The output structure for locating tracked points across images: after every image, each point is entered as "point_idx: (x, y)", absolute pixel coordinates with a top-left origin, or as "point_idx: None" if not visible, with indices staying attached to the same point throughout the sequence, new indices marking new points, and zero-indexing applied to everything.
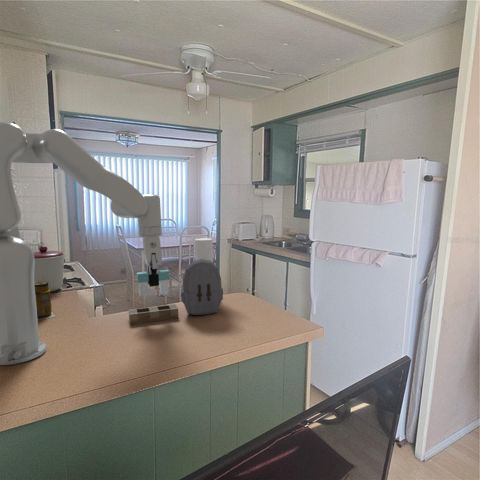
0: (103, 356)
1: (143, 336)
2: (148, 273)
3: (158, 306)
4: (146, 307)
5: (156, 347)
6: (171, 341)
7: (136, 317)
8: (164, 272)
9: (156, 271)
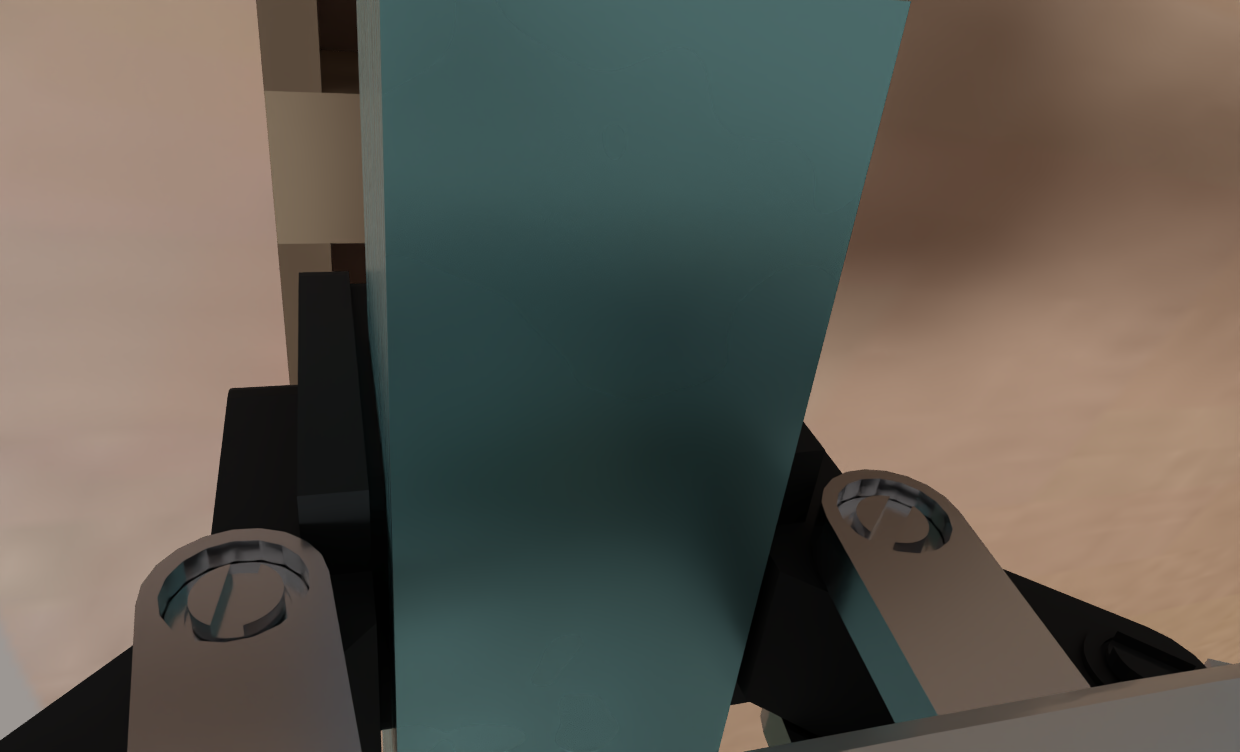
0: (1057, 541)
1: (914, 294)
2: (715, 745)
3: (304, 64)
4: (292, 270)
5: (1197, 212)
6: (1196, 60)
7: None
8: (830, 228)
9: (1088, 607)
